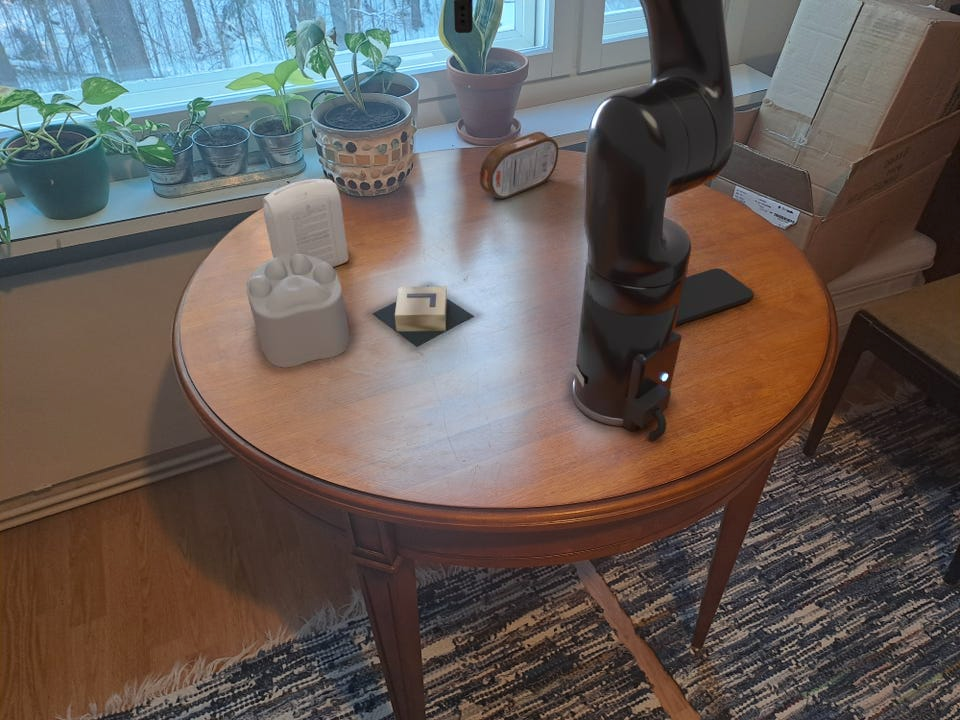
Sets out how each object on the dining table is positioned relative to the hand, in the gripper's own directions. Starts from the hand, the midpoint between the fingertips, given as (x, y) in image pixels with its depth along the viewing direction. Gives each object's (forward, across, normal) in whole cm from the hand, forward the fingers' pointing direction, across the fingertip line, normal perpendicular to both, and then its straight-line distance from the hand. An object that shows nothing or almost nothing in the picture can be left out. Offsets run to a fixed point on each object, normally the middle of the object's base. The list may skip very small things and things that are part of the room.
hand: (463, 30), depth 89 cm
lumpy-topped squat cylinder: (+27, -28, +19) cm, 43 cm away
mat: (+27, -24, +4) cm, 36 cm away
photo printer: (+27, -13, +20) cm, 37 cm away
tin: (+27, +11, -8) cm, 30 cm away
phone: (+27, -20, -30) cm, 45 cm away
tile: (+27, -24, +4) cm, 37 cm away
